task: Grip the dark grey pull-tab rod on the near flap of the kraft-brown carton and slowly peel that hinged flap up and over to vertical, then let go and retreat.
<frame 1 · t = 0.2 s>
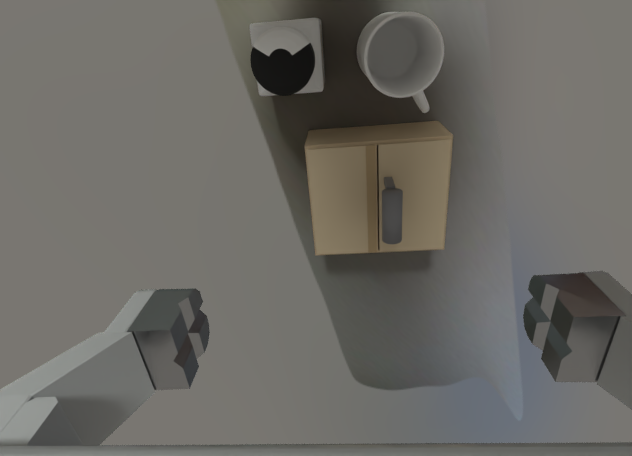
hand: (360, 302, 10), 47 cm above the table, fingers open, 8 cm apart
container: (294, 54, 51), on the table
mug: (394, 61, 51), on the table
carton: (373, 179, 58), on the table
near flap: (415, 208, 48), point 11 cm above the table, hinge at 0.0°
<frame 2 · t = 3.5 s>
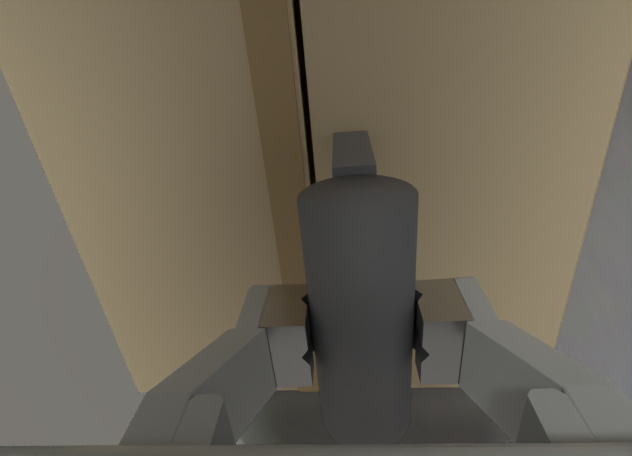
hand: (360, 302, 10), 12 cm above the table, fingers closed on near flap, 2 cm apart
carton: (325, 158, 21), on the table
near flap: (474, 272, 10), point 11 cm above the table, hinge at -0.1°, touching gripper
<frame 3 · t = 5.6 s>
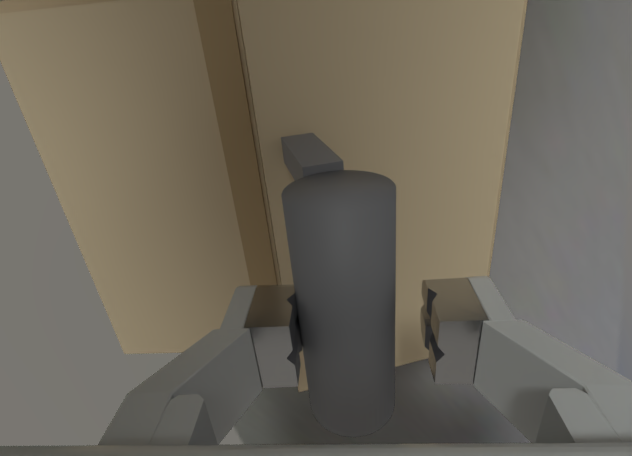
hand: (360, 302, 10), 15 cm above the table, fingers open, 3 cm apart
carton: (294, 149, 23), on the table
near flap: (427, 251, 12), point 12 cm above the table, hinge at 16.8°, touching gripper
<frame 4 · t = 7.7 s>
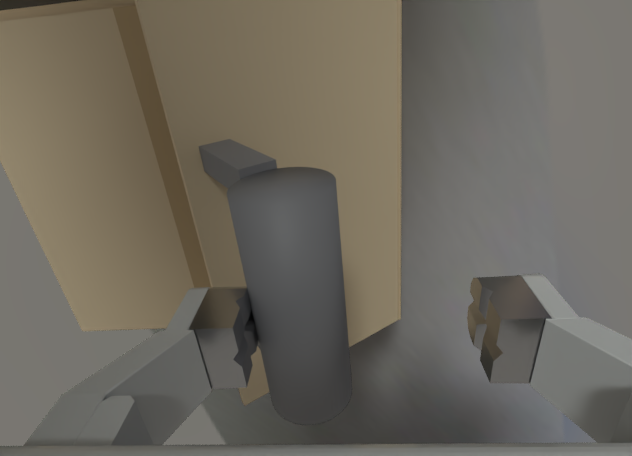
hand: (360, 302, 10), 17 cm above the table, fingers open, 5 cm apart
carton: (242, 145, 25), on the table
near flap: (354, 237, 13), point 13 cm above the table, hinge at 35.5°, touching gripper
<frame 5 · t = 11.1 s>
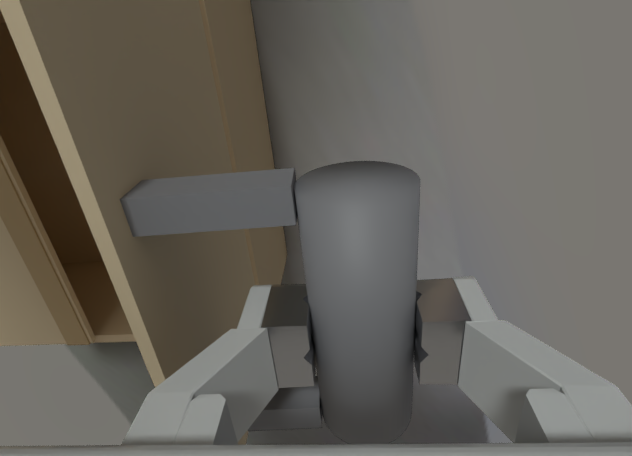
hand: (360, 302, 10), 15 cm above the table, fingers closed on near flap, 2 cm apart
carton: (127, 152, 24), on the table
near flap: (295, 247, 12), point 13 cm above the table, hinge at 91.8°, touching gripper
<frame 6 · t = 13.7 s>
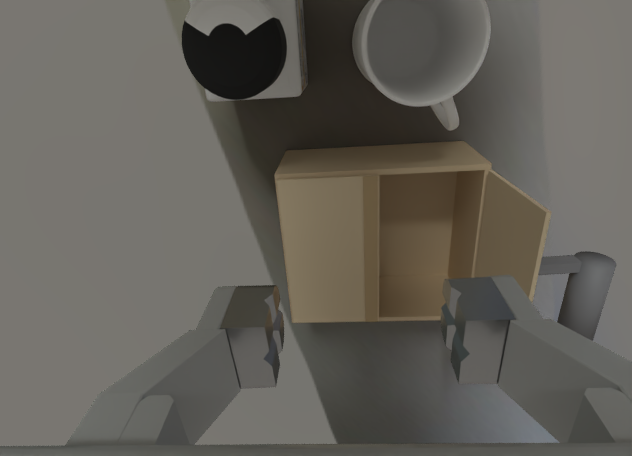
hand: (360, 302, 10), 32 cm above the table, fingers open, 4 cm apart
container: (264, 45, 36), on the table
mug: (405, 58, 36), on the table
carton: (373, 217, 43), on the table
near flap: (536, 276, 31), point 13 cm above the table, hinge at 93.6°
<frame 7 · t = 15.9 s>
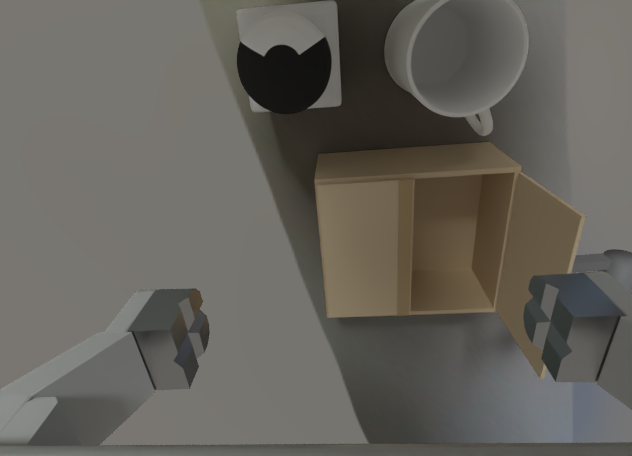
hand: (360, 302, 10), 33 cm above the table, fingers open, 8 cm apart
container: (299, 53, 38), on the table
mug: (434, 64, 38), on the table
carton: (401, 215, 45), on the table
near flap: (564, 272, 33), point 13 cm above the table, hinge at 93.6°
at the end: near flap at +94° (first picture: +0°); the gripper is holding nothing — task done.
